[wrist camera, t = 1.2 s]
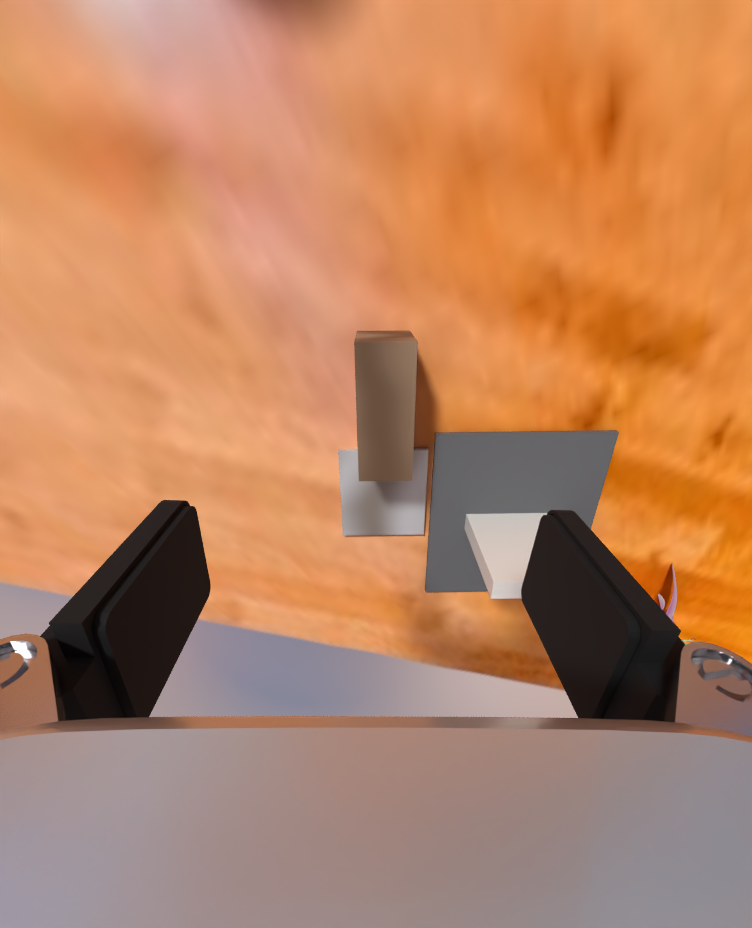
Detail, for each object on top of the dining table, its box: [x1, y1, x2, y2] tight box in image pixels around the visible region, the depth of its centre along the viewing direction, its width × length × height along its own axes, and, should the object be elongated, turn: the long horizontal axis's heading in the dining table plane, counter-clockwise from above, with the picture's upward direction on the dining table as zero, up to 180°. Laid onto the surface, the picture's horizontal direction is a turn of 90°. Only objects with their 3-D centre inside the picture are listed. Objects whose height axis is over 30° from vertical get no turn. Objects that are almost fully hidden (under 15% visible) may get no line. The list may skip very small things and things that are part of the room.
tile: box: [465, 513, 547, 599], centre depth 29 cm, size 8×2×8 cm, turn 91°
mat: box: [425, 430, 619, 592], centre depth 33 cm, size 14×16×1 cm
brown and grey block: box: [338, 331, 429, 536], centre depth 28 cm, size 7×17×5 cm, turn 0°
